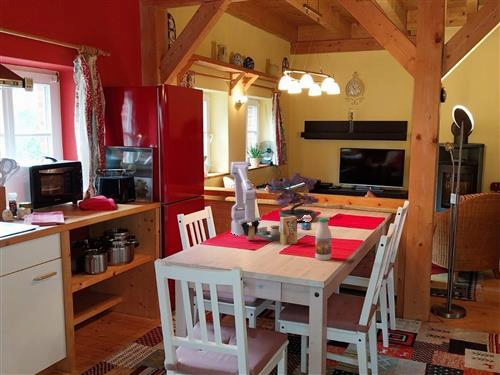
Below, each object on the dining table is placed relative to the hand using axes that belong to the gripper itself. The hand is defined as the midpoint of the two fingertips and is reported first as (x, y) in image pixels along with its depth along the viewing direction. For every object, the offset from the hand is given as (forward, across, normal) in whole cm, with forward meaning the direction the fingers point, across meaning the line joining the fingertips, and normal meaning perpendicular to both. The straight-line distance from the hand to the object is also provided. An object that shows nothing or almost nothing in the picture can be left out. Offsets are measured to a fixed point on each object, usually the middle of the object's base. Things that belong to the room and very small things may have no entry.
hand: (250, 234), depth 273 cm
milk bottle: (+4, +8, -50) cm, 51 cm away
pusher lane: (+4, +14, +2) cm, 15 cm away
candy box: (+4, +13, -18) cm, 23 cm away
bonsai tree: (+5, +62, +35) cm, 71 cm away
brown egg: (+3, +14, -5) cm, 15 cm away
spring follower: (+3, +14, +8) cm, 17 cm away
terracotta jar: (+2, 0, 0) cm, 2 cm away
